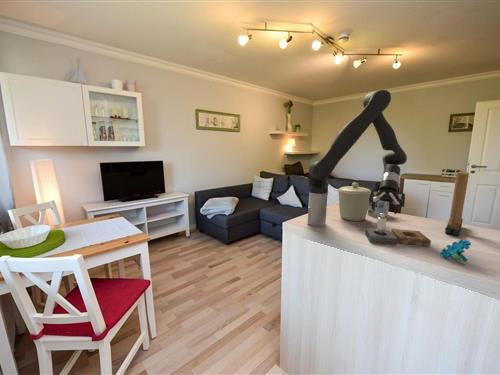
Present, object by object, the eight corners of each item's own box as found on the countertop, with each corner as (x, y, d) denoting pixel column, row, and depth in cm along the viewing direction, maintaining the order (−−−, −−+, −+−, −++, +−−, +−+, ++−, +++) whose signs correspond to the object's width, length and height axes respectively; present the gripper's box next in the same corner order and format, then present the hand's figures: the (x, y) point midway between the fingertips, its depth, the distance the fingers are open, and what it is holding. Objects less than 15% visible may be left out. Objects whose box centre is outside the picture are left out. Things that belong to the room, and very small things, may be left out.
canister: (376, 223, 119) (380, 185, 116) (342, 223, 120) (345, 185, 116) (360, 214, 137) (363, 180, 133) (331, 213, 137) (333, 180, 134)
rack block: (399, 244, 94) (400, 237, 93) (390, 234, 104) (391, 228, 104) (429, 247, 91) (430, 240, 90) (418, 237, 101) (418, 231, 101)
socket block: (370, 242, 96) (370, 236, 95) (365, 234, 105) (365, 228, 105) (396, 245, 93) (397, 238, 92) (388, 236, 102) (389, 230, 102)
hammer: (458, 241, 102) (468, 179, 93) (443, 238, 105) (452, 178, 96) (462, 224, 115) (472, 167, 106) (449, 221, 118) (457, 167, 109)
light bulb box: (377, 217, 130) (379, 199, 128) (366, 214, 136) (368, 197, 134) (388, 215, 135) (390, 197, 133) (377, 212, 141) (379, 195, 139)
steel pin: (376, 240, 98) (379, 214, 96) (374, 237, 101) (377, 212, 99) (384, 241, 97) (387, 214, 95) (382, 238, 100) (385, 212, 98)
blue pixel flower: (439, 246, 89) (467, 234, 82) (451, 258, 87) (481, 248, 80) (437, 259, 81) (468, 248, 74) (451, 273, 79) (483, 263, 73)
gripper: (372, 177, 110) (366, 204, 103) (407, 180, 102) (403, 209, 95) (373, 186, 115) (367, 213, 108) (406, 189, 107) (402, 218, 100)
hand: (384, 211), depth 101 cm, fingers open, 8 cm apart
